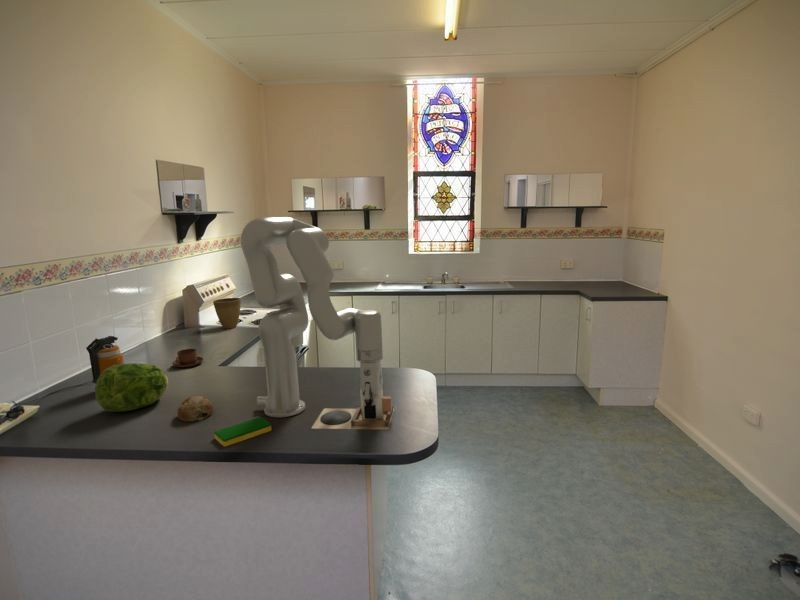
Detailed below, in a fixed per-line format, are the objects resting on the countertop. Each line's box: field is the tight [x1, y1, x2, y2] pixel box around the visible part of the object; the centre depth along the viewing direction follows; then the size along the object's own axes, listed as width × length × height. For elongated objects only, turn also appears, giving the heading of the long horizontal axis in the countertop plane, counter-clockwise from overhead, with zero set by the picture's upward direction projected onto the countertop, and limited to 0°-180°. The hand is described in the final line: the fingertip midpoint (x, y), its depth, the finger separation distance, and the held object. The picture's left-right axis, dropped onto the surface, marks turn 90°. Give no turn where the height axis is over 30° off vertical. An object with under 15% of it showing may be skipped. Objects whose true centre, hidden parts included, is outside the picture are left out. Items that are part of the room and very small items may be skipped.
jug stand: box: [310, 405, 395, 431], centre depth 139 cm, size 22×14×2 cm, turn 84°
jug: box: [359, 387, 393, 420], centre depth 137 cm, size 9×6×9 cm
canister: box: [85, 335, 125, 384], centre depth 171 cm, size 9×11×20 cm
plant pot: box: [212, 297, 242, 329], centre depth 269 cm, size 15×15×16 cm
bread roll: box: [176, 395, 214, 423], centre depth 147 cm, size 10×10×8 cm
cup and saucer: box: [172, 348, 204, 368], centre depth 201 cm, size 12×12×6 cm
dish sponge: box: [213, 416, 273, 447], centre depth 133 cm, size 7×14×2 cm, turn 131°
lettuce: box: [94, 362, 169, 413], centre depth 156 cm, size 16×21×15 cm
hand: (372, 412), depth 138 cm, fingers closed on jug, 6 cm apart
